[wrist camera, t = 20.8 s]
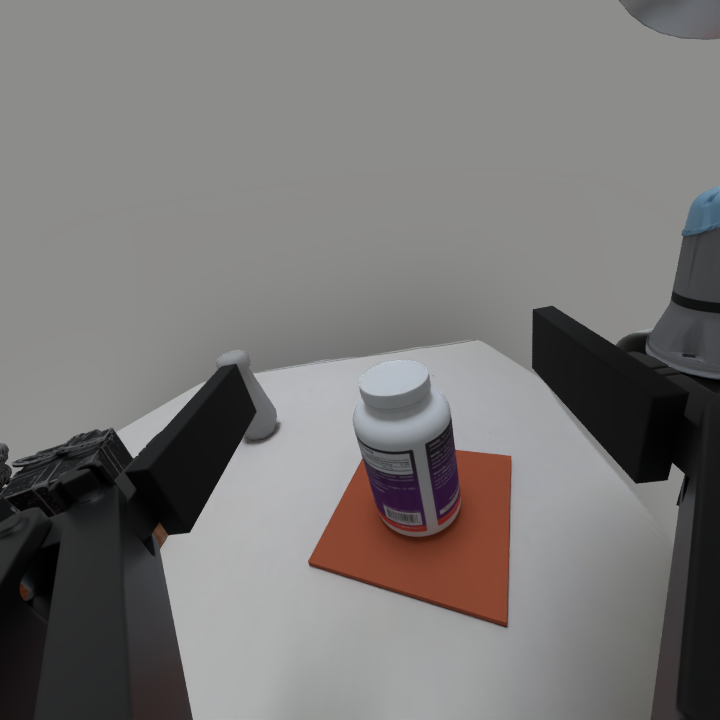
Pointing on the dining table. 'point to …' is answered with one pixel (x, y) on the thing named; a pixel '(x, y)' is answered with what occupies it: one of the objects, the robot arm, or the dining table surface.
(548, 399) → the dining table surface
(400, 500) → the pill bottle
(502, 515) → the terracotta mat
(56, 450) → the decorative object
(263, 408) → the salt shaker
